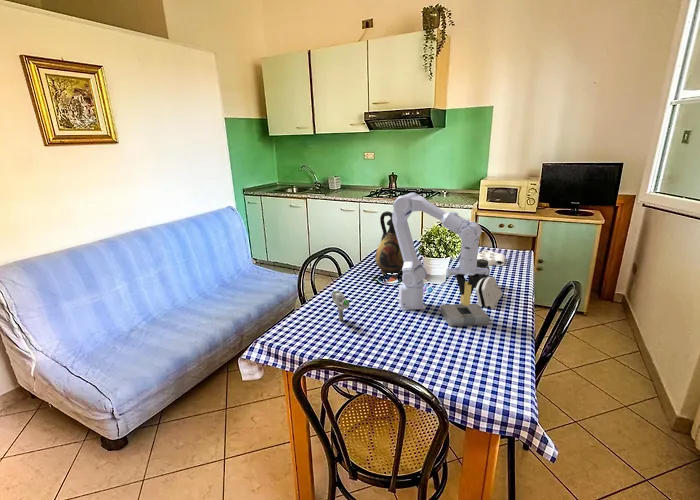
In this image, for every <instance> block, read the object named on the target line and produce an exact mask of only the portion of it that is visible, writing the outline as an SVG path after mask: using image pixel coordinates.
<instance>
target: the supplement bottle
mask: <svg viewBox="0 0 700 500" xmlns="http://www.w3.org/2000/svg"><path fill="white" fill-rule="evenodd" d="M477 267H478V268H487V269H489V275H485V274H479V276H480V280H481V279H482V278H485V277H490V275H491V274H490V273H491V268H490V266H488V261H487V260H485V259H478V260H477ZM480 280H479V281H480ZM479 281H478V282H479ZM478 282H477V284H478ZM477 284H476V285H475V287H474V289H476V287H477Z"/></svg>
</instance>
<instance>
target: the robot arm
mask: <svg viewBox="0 0 700 500" xmlns="http://www.w3.org/2000/svg"><path fill="white" fill-rule="evenodd" d="M392 206H393V210H392V213H393V214H392V221H393V225H394V228H395V232H396V236H397V239H398V243H399V246H400V250H401V254H402V257H403V261H404V264H403V268H402V270H401V271H402V278H401V279H402V282H403V283H402V284H399V286H398V301H397V302H398V304H399V307H400V309H401V310H402V311H403V310H404V311H405V310H408V311H409V310H425V309H426V305H425V304H424V289H425V288H424V287H425V285H424V284H425V283H424V280H425V279H426V277H427V273H428V272H427V270H426V268H425V267H424V265H423V263H422V260H420V259H419V258H418V255H417V250H416V248H415V245H414V244H415V243H414V241H413V236H412V233H411V229H410V226H409V223H408V219H409V217H410V216H411V214H412V213H413V212H423V213H425V214H427V215H429V216H431V217H433V218H434V219H436V220H439V221H440V222H441V225H442V226H443V227H444V228H446V229H448V230H449V231H451V232H453V233H454V234H456V235H457V236H459V237H460V240H461V244H460V253H459V256H460V257H459V266H458V267H455V268H447V269H445V270H446V272H445V273H446V274H445V275H446V276H447V277H451V276H455V279H456V281H457V285H458V289H459V293H460V296H461V295H463V294H464V285H465V281H466V280H467V279H468V281H469V282H470V284H471V285H472V287H471V295H473V292H474V289H475V285H476V284H477V282H478V281H479V280H480V276H479V274H485V275H489V276H490V274H489V269H487V268H478V267H477V256H478V253H479V241H480V238H479V237H480V236H481V235H482V230H483V229H482V226H481V225H479V224H478V223H477V222H475V221H471V220H469V219H466V218H463V217H462V216H460V215H459V213H458V212H457V211H454V212H453V211H449V212H447V211H444V210H443V209H441V208H440V207H438V206H437V205H435V204H434V203H432V202H431V201H429V200H428V199H426V198H425V197H423V196H422V195H419V194H418V193H416V192H413V191H412V192H409V193H406V194H404V195H399V196H398V197H396V199H395V200H394V202H393V203H392ZM465 276H468V278H465Z"/></svg>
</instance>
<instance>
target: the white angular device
mask: <svg viewBox="0 0 700 500" xmlns="http://www.w3.org/2000/svg"><path fill="white" fill-rule="evenodd" d="M475 294H476V299H477V303H478V305H479V306H480V307H481V308H482V307H484V306H485V307H490V309H491V310H493V309H494V308H495V307H496V306H497V304H498V302H499V300H501V298H502V296H503V295H504V294H503V291H502V290H501V289H500V288H499V286H498V283H497V280H496V278H495V276H489V277H485V278H482V279H481V280H480V281H479V282H478V284H477V287H476V288H475Z"/></svg>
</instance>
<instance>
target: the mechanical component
mask: <svg viewBox="0 0 700 500" xmlns="http://www.w3.org/2000/svg"><path fill="white" fill-rule="evenodd" d="M331 297H332V298H331V299H332V302H333V303H334V304H335V305H336V306H337V311H338V321H339V322H341V321H344V310H345V309H349V308H350V300H348V299H346V298H345V294H343V292H341V291H340V290H333V291H332V292H331Z"/></svg>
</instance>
